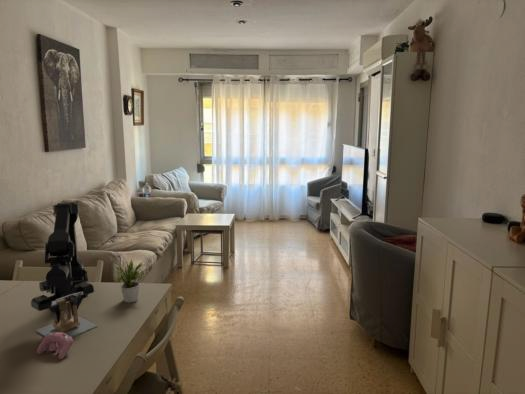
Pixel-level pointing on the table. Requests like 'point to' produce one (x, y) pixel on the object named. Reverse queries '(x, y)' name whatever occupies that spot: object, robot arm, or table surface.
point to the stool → (69, 322)
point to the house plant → (130, 282)
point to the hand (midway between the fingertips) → (66, 319)
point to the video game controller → (52, 341)
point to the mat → (72, 332)
